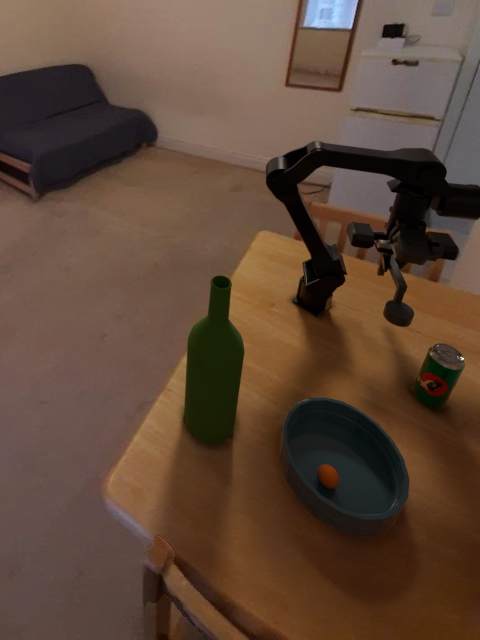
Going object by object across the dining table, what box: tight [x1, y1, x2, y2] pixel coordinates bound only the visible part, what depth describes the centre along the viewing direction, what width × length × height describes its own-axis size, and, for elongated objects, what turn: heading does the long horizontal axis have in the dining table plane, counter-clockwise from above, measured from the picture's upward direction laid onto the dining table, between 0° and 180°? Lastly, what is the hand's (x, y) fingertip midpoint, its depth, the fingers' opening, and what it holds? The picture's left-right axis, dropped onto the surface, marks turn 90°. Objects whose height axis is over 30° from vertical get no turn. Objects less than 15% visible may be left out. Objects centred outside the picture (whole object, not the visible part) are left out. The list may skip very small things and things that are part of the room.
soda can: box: [412, 342, 466, 410], centre depth 72 cm, size 5×5×12 cm
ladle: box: [376, 255, 415, 328], centre depth 85 cm, size 16×5×7 cm, turn 163°
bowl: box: [278, 396, 410, 538], centre depth 64 cm, size 17×17×6 cm
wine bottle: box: [183, 274, 245, 446], centre depth 66 cm, size 9×9×32 cm
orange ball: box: [317, 464, 339, 489], centre depth 62 cm, size 3×3×3 cm
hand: (389, 271), depth 87 cm, fingers closed on ladle
